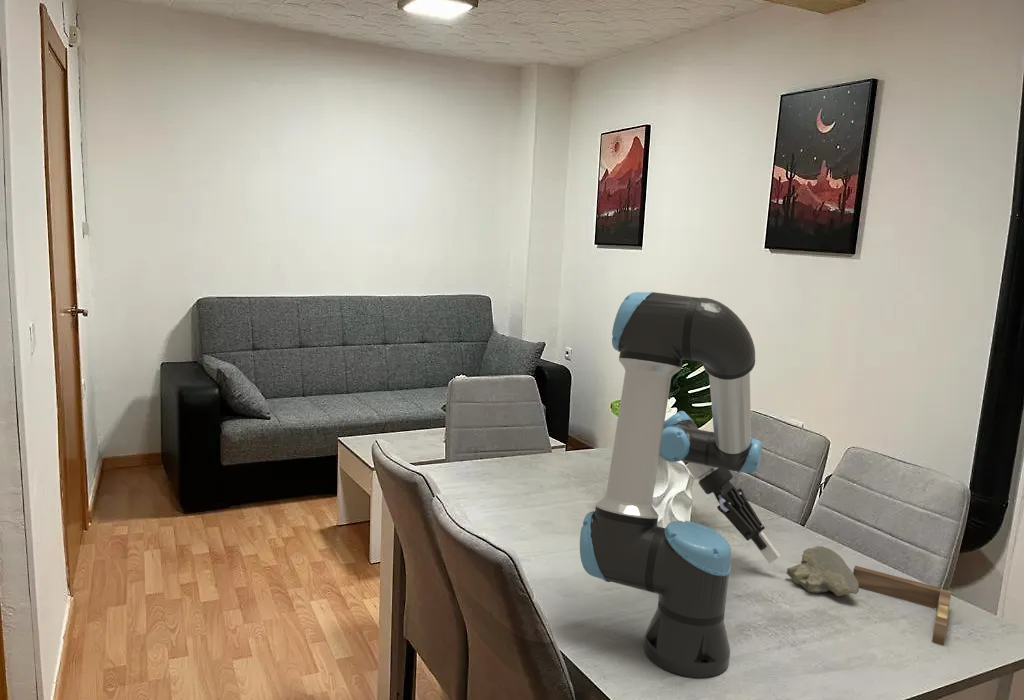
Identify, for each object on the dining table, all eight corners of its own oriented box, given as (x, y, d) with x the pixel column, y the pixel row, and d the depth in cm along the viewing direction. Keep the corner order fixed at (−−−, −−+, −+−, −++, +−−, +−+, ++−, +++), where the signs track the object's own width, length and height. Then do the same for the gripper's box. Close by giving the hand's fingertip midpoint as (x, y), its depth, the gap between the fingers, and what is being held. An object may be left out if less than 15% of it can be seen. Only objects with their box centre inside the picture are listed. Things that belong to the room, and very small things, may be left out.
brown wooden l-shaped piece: (943, 645, 149) (947, 625, 148) (839, 614, 158) (841, 595, 158) (948, 608, 164) (951, 589, 164) (852, 582, 174) (855, 564, 173)
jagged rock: (812, 592, 176) (779, 578, 173) (827, 549, 177) (795, 534, 174) (859, 613, 162) (824, 598, 159) (876, 566, 164) (841, 551, 160)
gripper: (714, 470, 172) (781, 561, 166) (730, 457, 183) (794, 542, 177) (688, 487, 175) (754, 577, 170) (706, 473, 186) (768, 557, 181)
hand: (774, 559), depth 173 cm, fingers closed
